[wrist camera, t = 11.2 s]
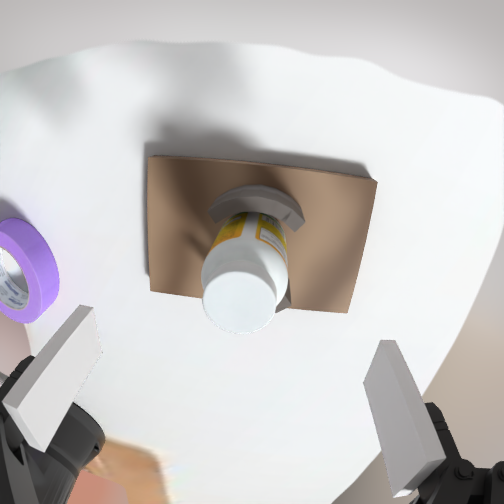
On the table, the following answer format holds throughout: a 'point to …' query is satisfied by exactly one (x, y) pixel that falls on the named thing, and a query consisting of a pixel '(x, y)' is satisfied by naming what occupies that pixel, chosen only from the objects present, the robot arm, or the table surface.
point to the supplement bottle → (245, 273)
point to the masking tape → (27, 272)
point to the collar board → (265, 201)
